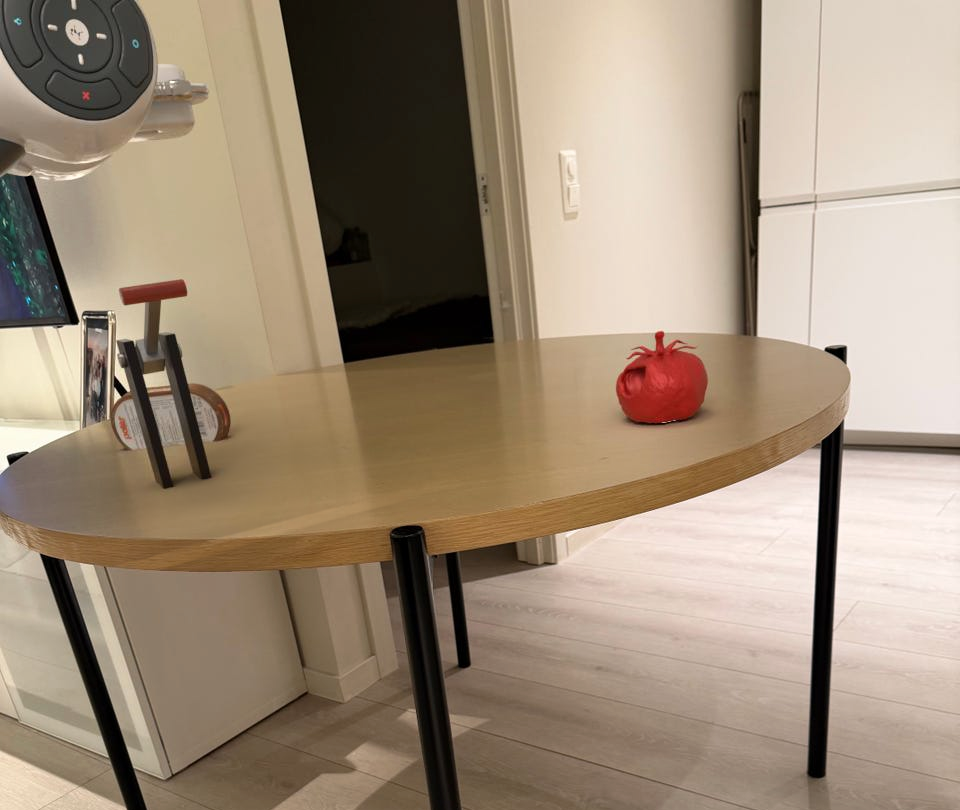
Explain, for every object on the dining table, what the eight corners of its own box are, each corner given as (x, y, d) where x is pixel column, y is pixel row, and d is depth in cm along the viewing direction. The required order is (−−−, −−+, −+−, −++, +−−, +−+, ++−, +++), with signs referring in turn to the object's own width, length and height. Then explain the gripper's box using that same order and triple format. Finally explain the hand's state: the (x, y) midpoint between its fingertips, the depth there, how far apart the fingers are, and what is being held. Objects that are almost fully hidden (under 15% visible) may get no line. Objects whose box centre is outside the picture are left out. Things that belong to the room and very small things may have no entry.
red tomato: (704, 404, 102) (703, 319, 98) (712, 423, 94) (711, 331, 90) (618, 412, 104) (613, 329, 100) (617, 431, 95) (612, 341, 91)
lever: (190, 295, 78) (180, 270, 78) (126, 305, 76) (116, 279, 76) (181, 368, 91) (173, 346, 91) (126, 378, 89) (118, 356, 89)
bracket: (235, 491, 92) (196, 332, 86) (157, 509, 89) (111, 346, 82) (212, 475, 100) (175, 328, 94) (140, 491, 97) (96, 341, 90)
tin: (238, 445, 114) (222, 378, 111) (229, 451, 112) (213, 382, 108) (129, 456, 117) (110, 390, 113) (118, 462, 114) (98, 395, 110)
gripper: (203, 28, 56) (160, 72, 67) (-172, 39, 48) (-150, 87, 59) (227, 141, 59) (182, 166, 70) (-125, 170, 51) (-112, 193, 62)
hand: (27, 130), depth 64 cm, fingers closed
